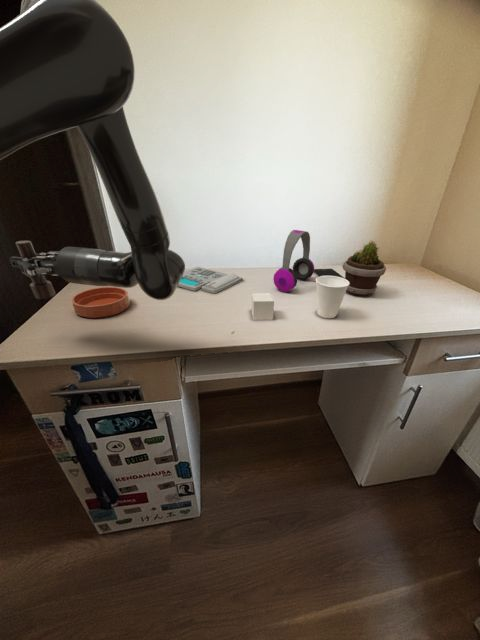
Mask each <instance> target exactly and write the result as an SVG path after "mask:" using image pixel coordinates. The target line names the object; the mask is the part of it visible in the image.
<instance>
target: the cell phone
mask: <svg viewBox="0 0 480 640" xmlns="http://www.w3.org/2000/svg"><path fill="white" fill-rule="evenodd" d="M313 273H315V274H316V275H318V277H320V276H337V277H341V278H344V279H345V276H343V275H341V274H340V273H339V272H337V271H336V270H334V269H333V268H314V272H313Z"/></svg>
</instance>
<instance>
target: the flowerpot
mask: <svg viewBox="0 0 480 640" xmlns="http://www.w3.org/2000/svg"><path fill="white" fill-rule="evenodd" d="M377 245H378V244H377V242H376V241H375V240H374V239H373V240H372V239H369V241H368V243H367V244H365V245H364V246H363V248H361V249H359V250H358V251H357V250H356V251H355V252H354V253H353V255H351V256H349V257H348V258H347V260H345V261H344V262H343V264H342V265H341V267H342V270H343V271H345V272H344V278H345V279H346V280H348V281H349V283H350V284H349V286H348V287H347V290H346V293H347V294H350V295H352V296H356V297H359V296H360V297H362V298H363V297H364V298H365V297H366V298H367V297H370V296H372V295H373V294H374V293H375V292H376V290H377V288H378V286H377V284H378V282H379V281H380V278H381V277H382V276H384V275H385V273H386V271H387V267H386V265H385V263H384V262H383V261H382V260H381V259H379V256H380V255H379V250H380V247H378V246H377Z"/></svg>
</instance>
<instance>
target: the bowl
mask: <svg viewBox="0 0 480 640" xmlns="http://www.w3.org/2000/svg"><path fill="white" fill-rule="evenodd" d="M70 301H71V304H72V307H73V310H74V312H75V314H76V315H78V316H80V317H83V318H87V319H88V318H89V319H103V318H108V317H113V316H116V315H118V314H120V313H122V312H124V311H125V310H127V309H128V308H129V306H130V304H131V301H130V296H129V293H128V291H127V290H126V289H125V288H123V287H114V286H99V287H95V288H94V287H93V288H90V289H86V290H83V291H81V292H78V293H75V294H74V295H73V296H72V298H71V299H70Z"/></svg>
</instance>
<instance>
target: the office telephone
mask: <svg viewBox="0 0 480 640" xmlns="http://www.w3.org/2000/svg"><path fill="white" fill-rule="evenodd" d="M241 282H243V277H240V276H239V275H238V274H235V273H225V272H220V271H216V270H213V269H209V268H205V267H201V266H195V267H193V268H191V269H188V270H185V271H184V274H183V276H182V278H181V280H180V282H179V284H178V286H177V287H179V288H183V289H186V290H189V291H193V292H196V291H198V290H201V291H204V292H207V293H211V294H217V293H219V292H221V291H224V290H226V289H228V288H230V287H232V286H234V285H237V284H238V283H241Z"/></svg>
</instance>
